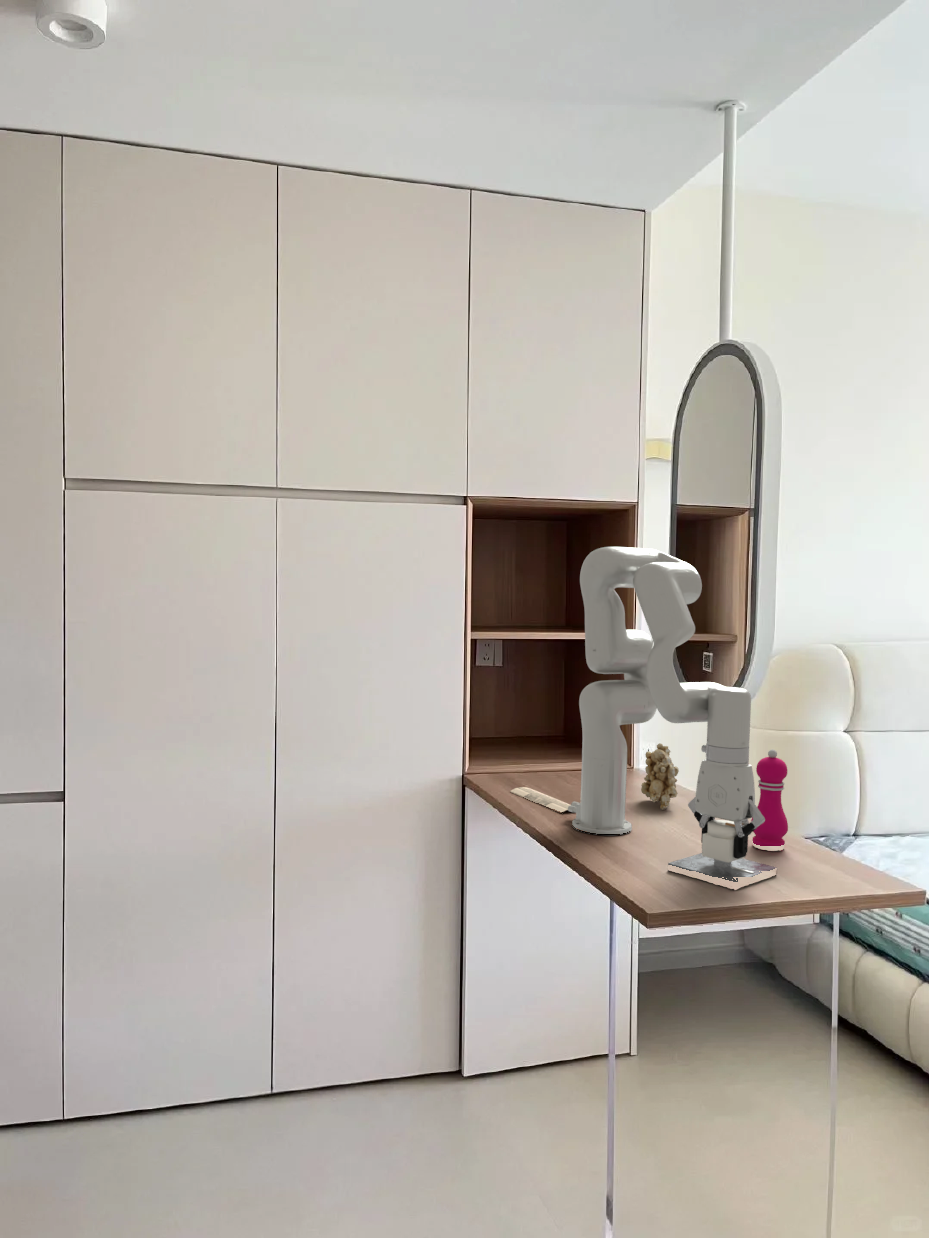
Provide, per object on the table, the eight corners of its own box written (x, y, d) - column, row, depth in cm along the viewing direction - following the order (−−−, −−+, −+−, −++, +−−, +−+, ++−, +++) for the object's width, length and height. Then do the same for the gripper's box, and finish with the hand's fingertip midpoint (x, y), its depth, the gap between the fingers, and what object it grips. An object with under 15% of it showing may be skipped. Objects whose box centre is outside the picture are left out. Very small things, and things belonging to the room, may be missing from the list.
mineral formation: (669, 799, 238) (671, 738, 238) (686, 813, 225) (689, 748, 224) (636, 799, 238) (639, 738, 237) (652, 812, 224) (655, 747, 224)
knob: (700, 855, 179) (701, 821, 179) (718, 850, 183) (719, 816, 183) (728, 863, 174) (730, 828, 174) (746, 857, 179) (748, 823, 178)
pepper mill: (758, 840, 203) (762, 745, 202) (792, 847, 198) (797, 749, 197) (743, 847, 197) (748, 749, 196) (778, 854, 192) (783, 754, 192)
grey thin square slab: (667, 870, 179) (668, 844, 179) (710, 857, 189) (711, 832, 189) (734, 890, 169) (736, 862, 169) (776, 875, 179) (778, 848, 178)
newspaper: (583, 815, 223) (583, 807, 223) (557, 817, 220) (557, 810, 220) (531, 793, 244) (531, 786, 244) (506, 795, 241) (506, 788, 241)
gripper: (675, 750, 182) (672, 846, 183) (759, 764, 169) (755, 867, 170) (698, 746, 187) (695, 839, 188) (781, 760, 174) (777, 860, 175)
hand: (723, 851), depth 179 cm, fingers closed on knob, 6 cm apart
